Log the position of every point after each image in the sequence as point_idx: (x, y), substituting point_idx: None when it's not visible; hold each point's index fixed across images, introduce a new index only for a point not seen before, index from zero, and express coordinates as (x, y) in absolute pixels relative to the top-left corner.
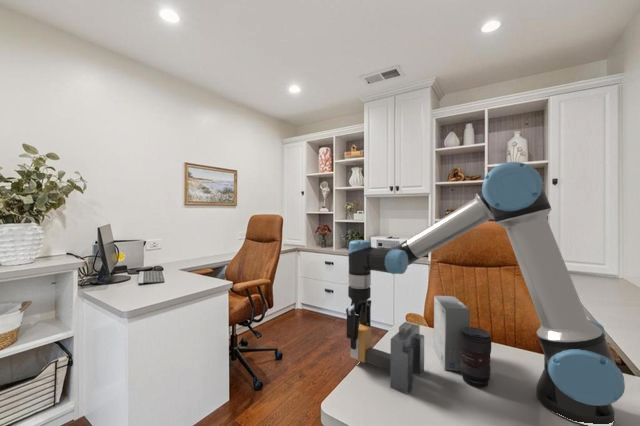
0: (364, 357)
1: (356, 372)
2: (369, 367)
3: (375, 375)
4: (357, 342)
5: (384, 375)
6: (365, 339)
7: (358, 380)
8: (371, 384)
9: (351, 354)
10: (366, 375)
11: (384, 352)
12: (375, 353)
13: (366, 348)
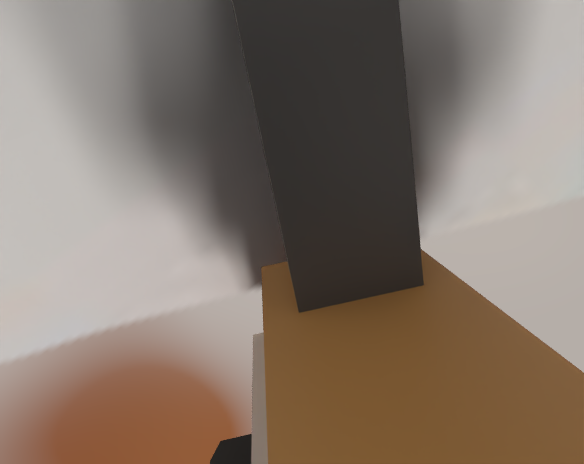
0: (421, 253)
1: (493, 214)
2: None
3: (429, 76)
4: None
5: None
6: (548, 393)
7: (578, 130)
8: (567, 13)
9: None
10: (479, 131)
11: (266, 82)
12: (392, 157)
13: (410, 301)
